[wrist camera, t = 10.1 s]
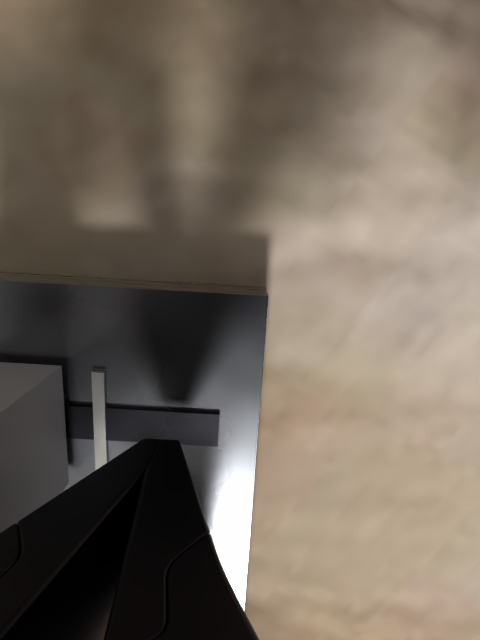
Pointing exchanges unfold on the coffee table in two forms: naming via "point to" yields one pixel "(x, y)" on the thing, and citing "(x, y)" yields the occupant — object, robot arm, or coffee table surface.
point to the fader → (30, 439)
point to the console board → (153, 380)
